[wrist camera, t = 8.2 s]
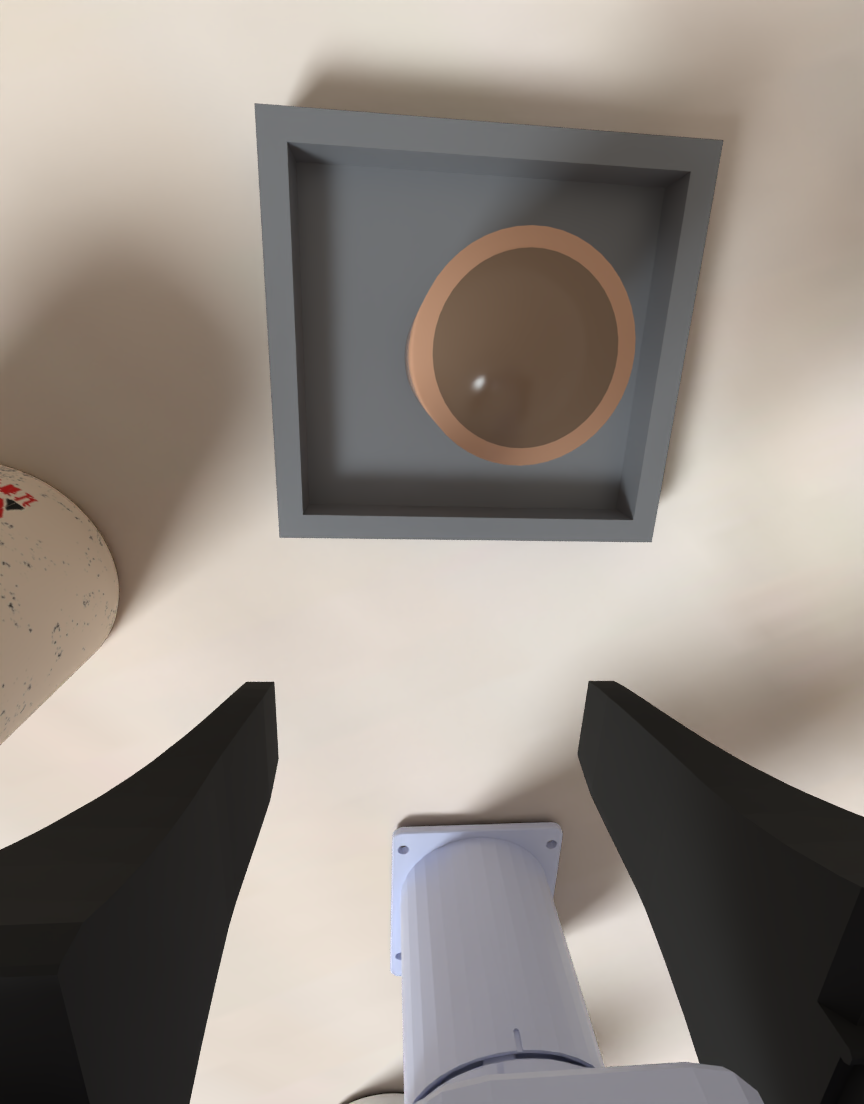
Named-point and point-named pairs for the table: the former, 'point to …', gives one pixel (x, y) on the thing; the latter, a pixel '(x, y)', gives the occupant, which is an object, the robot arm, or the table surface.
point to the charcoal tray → (401, 286)
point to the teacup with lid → (47, 594)
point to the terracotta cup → (522, 345)
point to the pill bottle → (382, 1099)
